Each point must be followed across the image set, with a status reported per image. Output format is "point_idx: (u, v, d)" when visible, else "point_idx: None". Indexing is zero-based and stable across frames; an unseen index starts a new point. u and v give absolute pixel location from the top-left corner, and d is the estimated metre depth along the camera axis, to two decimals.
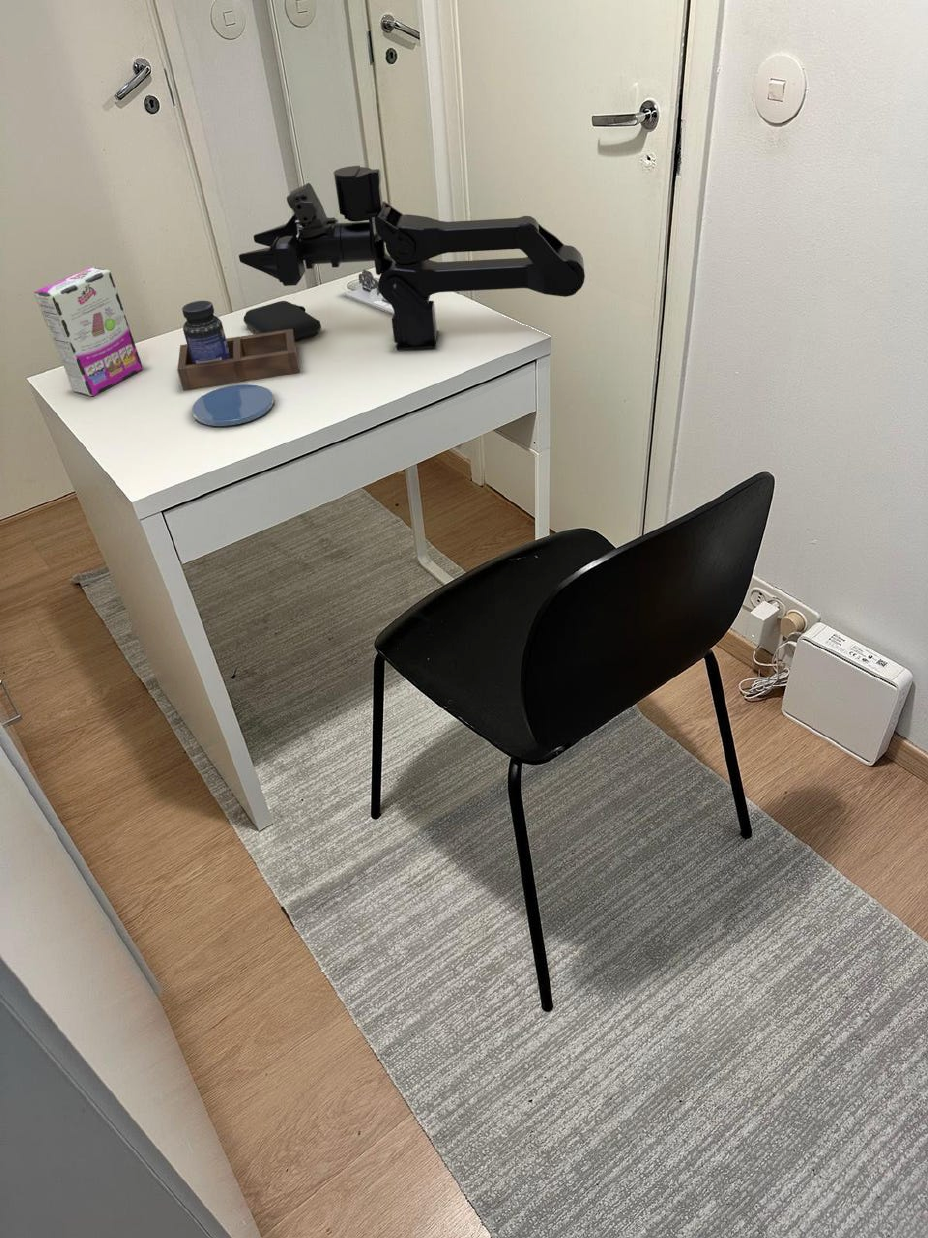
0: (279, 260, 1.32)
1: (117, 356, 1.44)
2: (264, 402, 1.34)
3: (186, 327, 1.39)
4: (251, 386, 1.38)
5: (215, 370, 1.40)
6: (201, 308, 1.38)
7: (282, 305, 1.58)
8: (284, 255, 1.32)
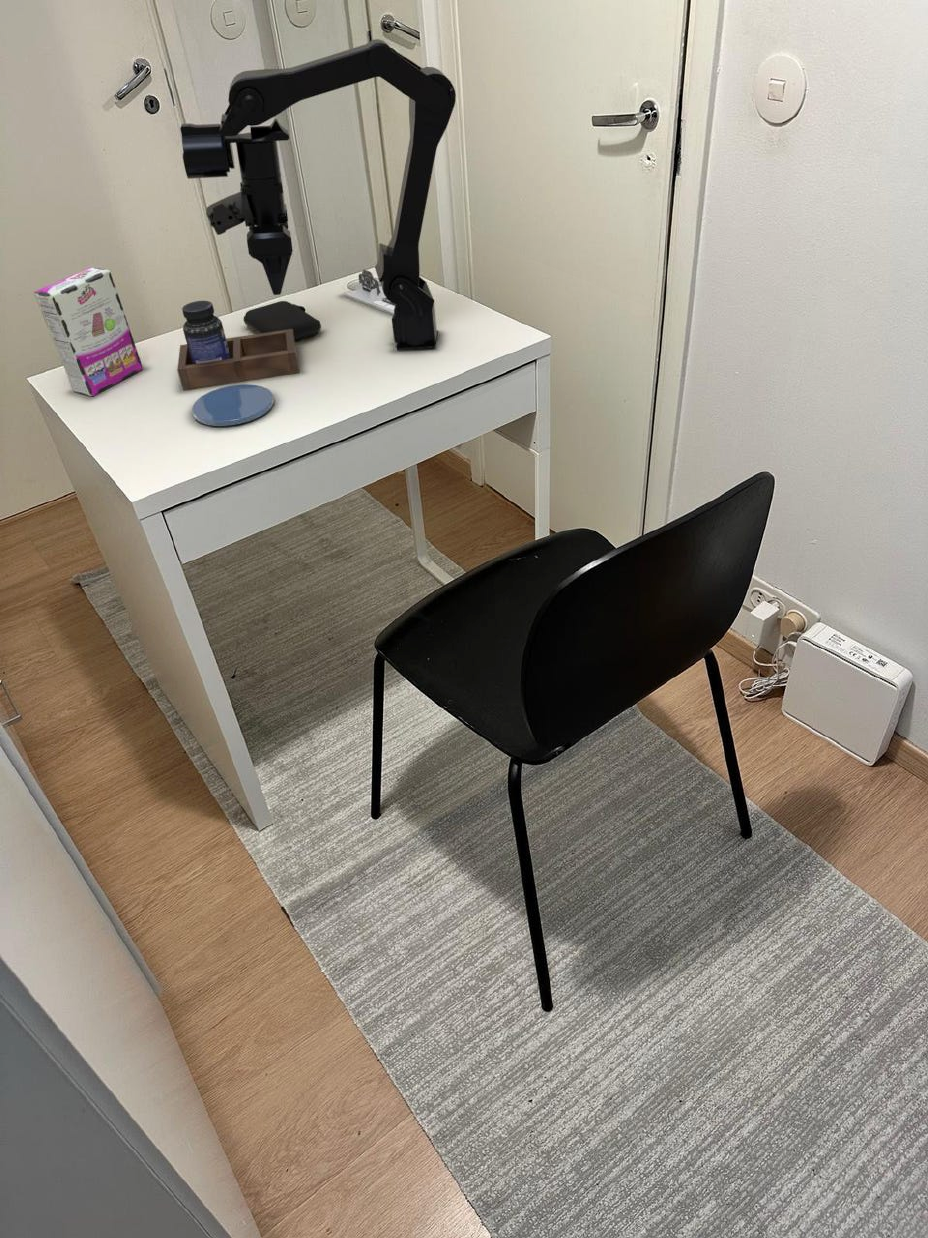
0: (264, 253, 1.27)
1: (117, 356, 1.44)
2: (264, 402, 1.34)
3: (186, 327, 1.39)
4: (251, 386, 1.38)
5: (215, 370, 1.40)
6: (201, 308, 1.38)
7: (282, 305, 1.58)
8: (258, 246, 1.26)
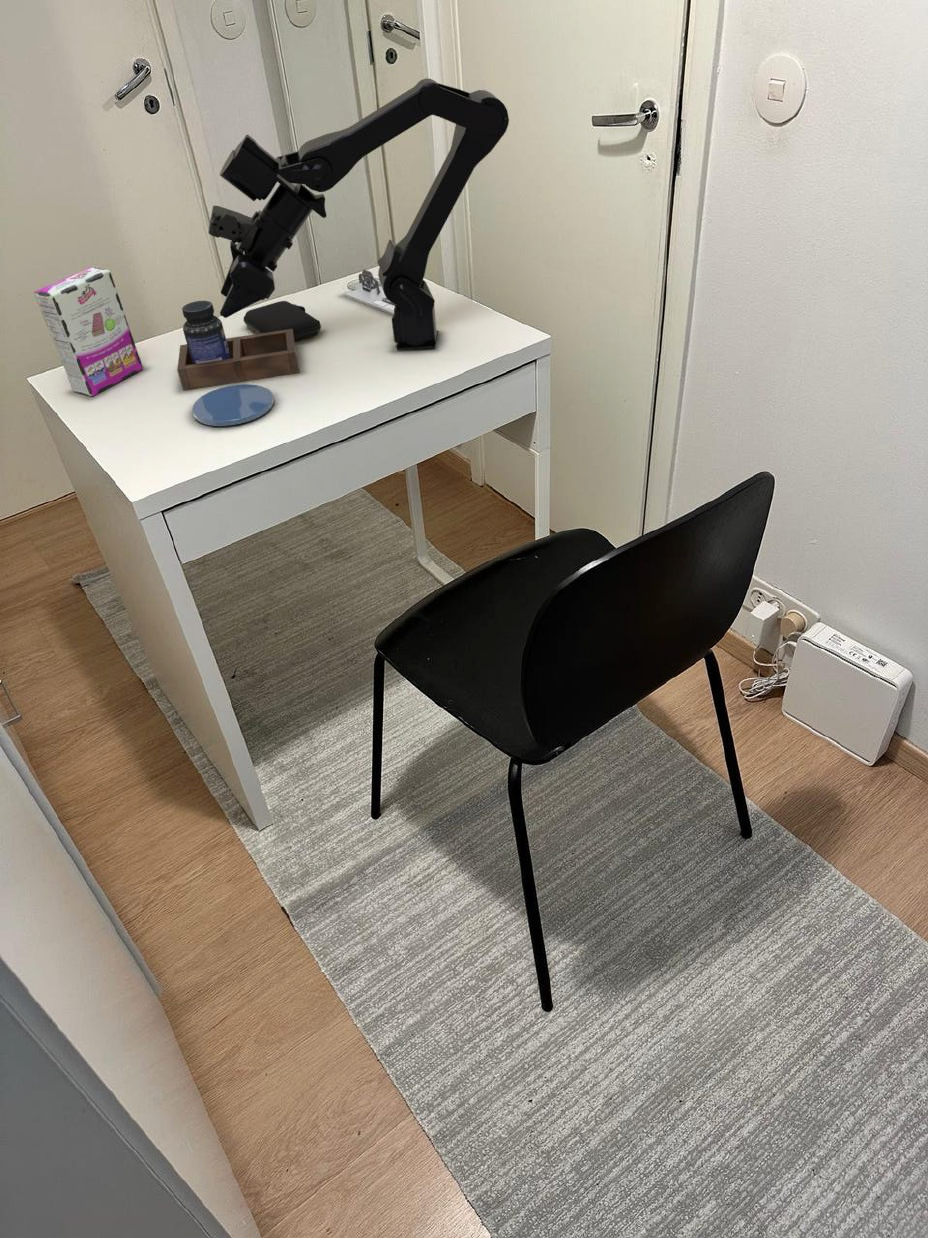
0: (245, 282, 1.29)
1: (117, 356, 1.44)
2: (264, 402, 1.34)
3: (186, 327, 1.39)
4: (251, 386, 1.38)
5: (215, 370, 1.40)
6: (201, 308, 1.38)
7: (282, 305, 1.58)
8: (244, 274, 1.28)
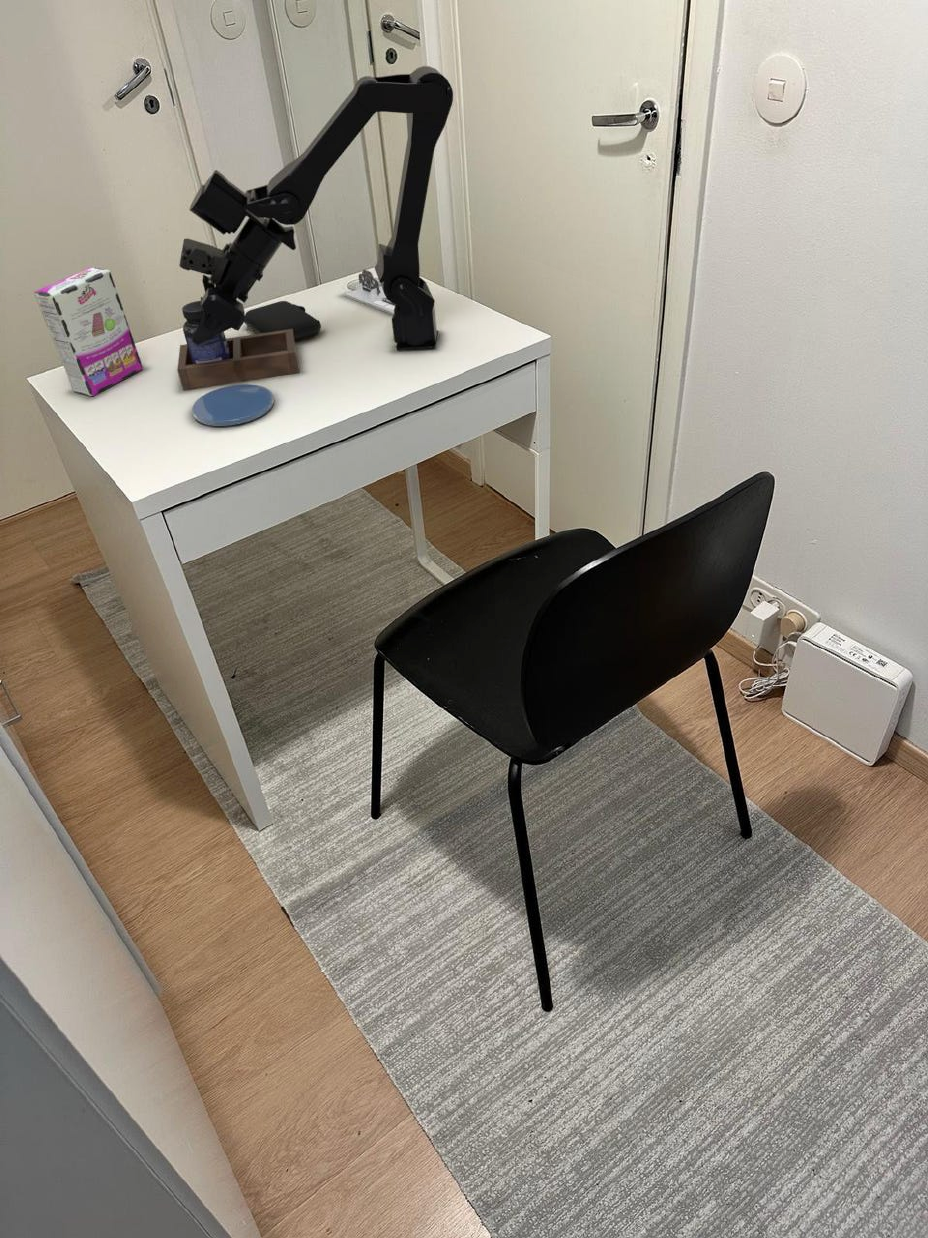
0: (215, 315, 1.31)
1: (117, 356, 1.44)
2: (264, 402, 1.34)
3: (186, 327, 1.39)
4: (251, 386, 1.38)
5: (215, 370, 1.40)
6: (201, 308, 1.38)
7: (282, 305, 1.58)
8: (214, 307, 1.30)
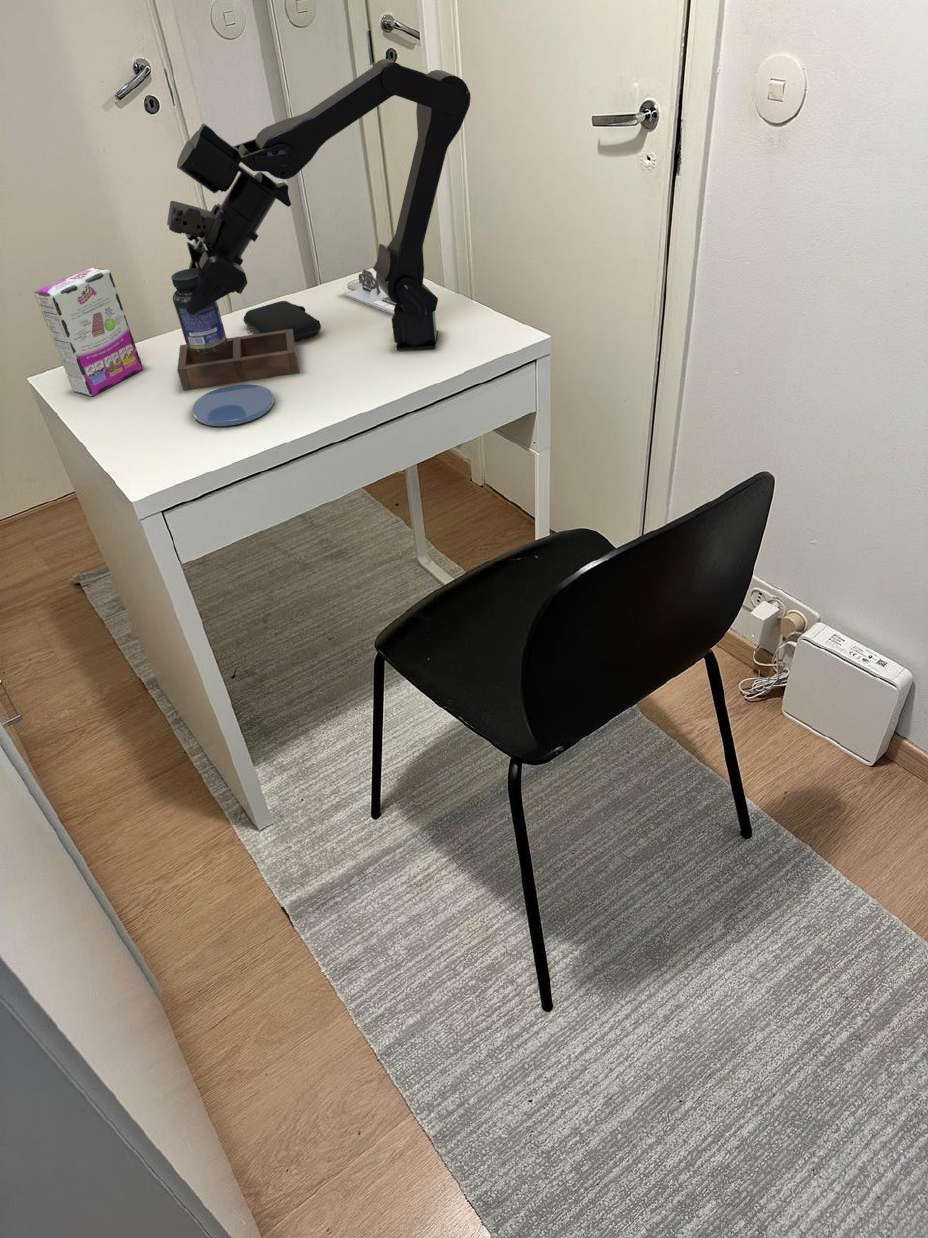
0: (217, 278, 1.23)
1: (117, 356, 1.44)
2: (264, 402, 1.34)
3: (178, 297, 1.30)
4: (251, 386, 1.38)
5: (215, 370, 1.40)
6: (193, 275, 1.29)
7: (282, 305, 1.58)
8: (216, 269, 1.22)
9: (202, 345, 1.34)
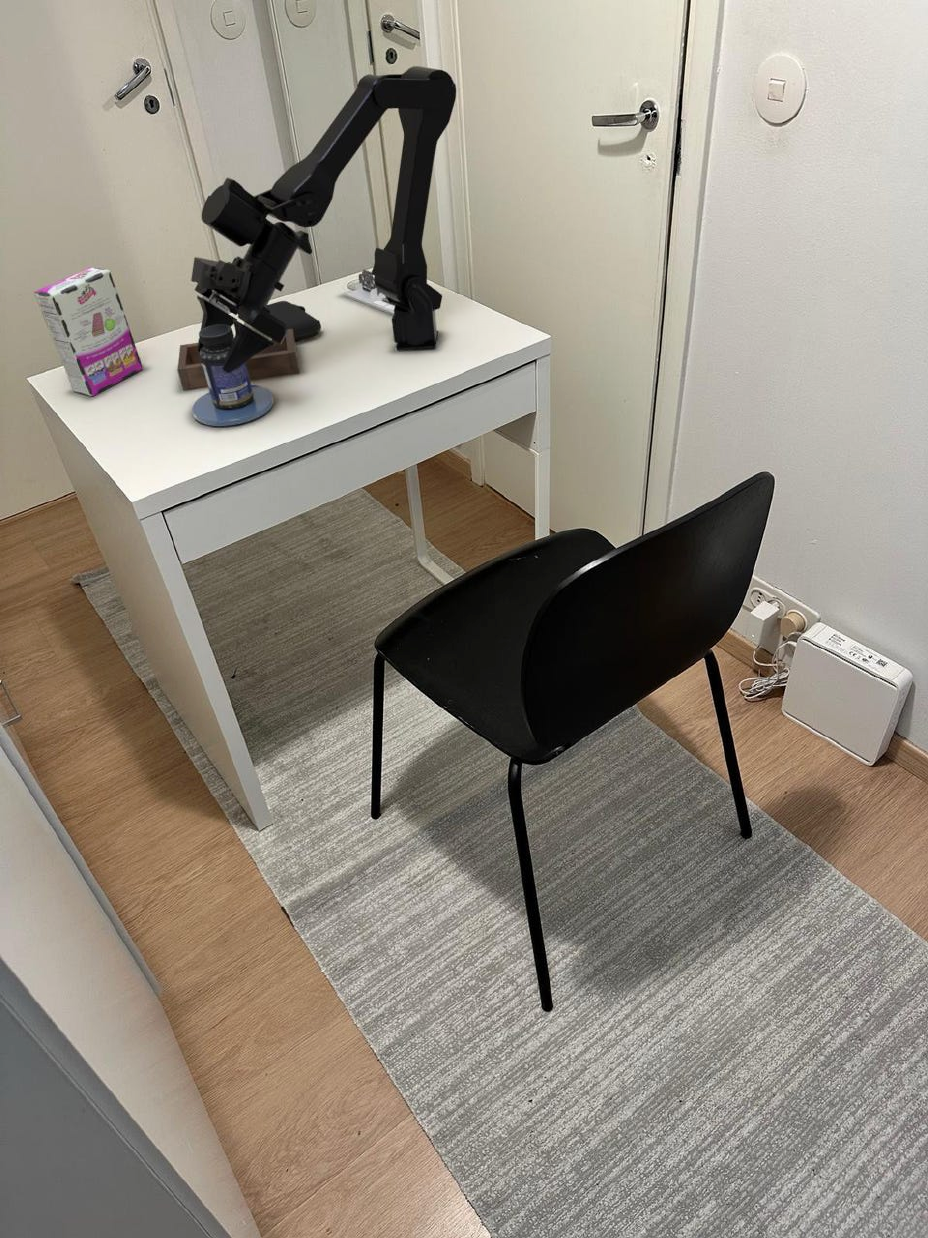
0: (261, 330, 1.22)
1: (117, 356, 1.44)
2: (264, 402, 1.34)
3: (209, 355, 1.27)
4: (251, 386, 1.38)
5: None
6: (223, 331, 1.27)
7: (282, 305, 1.58)
8: (260, 322, 1.21)
9: (234, 400, 1.31)
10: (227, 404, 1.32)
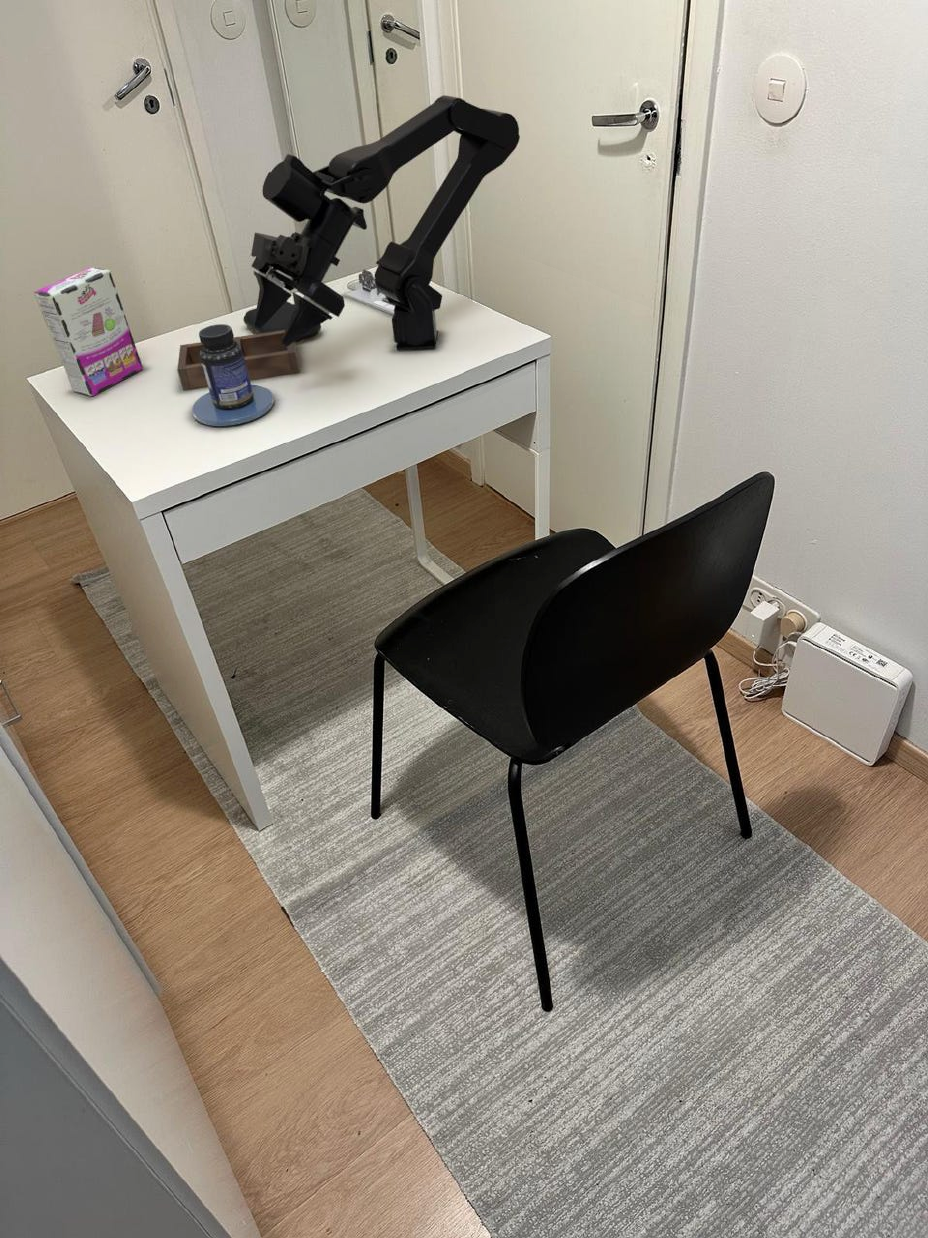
0: (320, 303, 1.25)
1: (117, 356, 1.44)
2: (264, 402, 1.34)
3: (209, 355, 1.27)
4: (251, 386, 1.38)
5: None
6: (223, 331, 1.27)
7: (282, 305, 1.58)
8: (320, 295, 1.24)
9: (234, 400, 1.31)
10: (227, 404, 1.32)
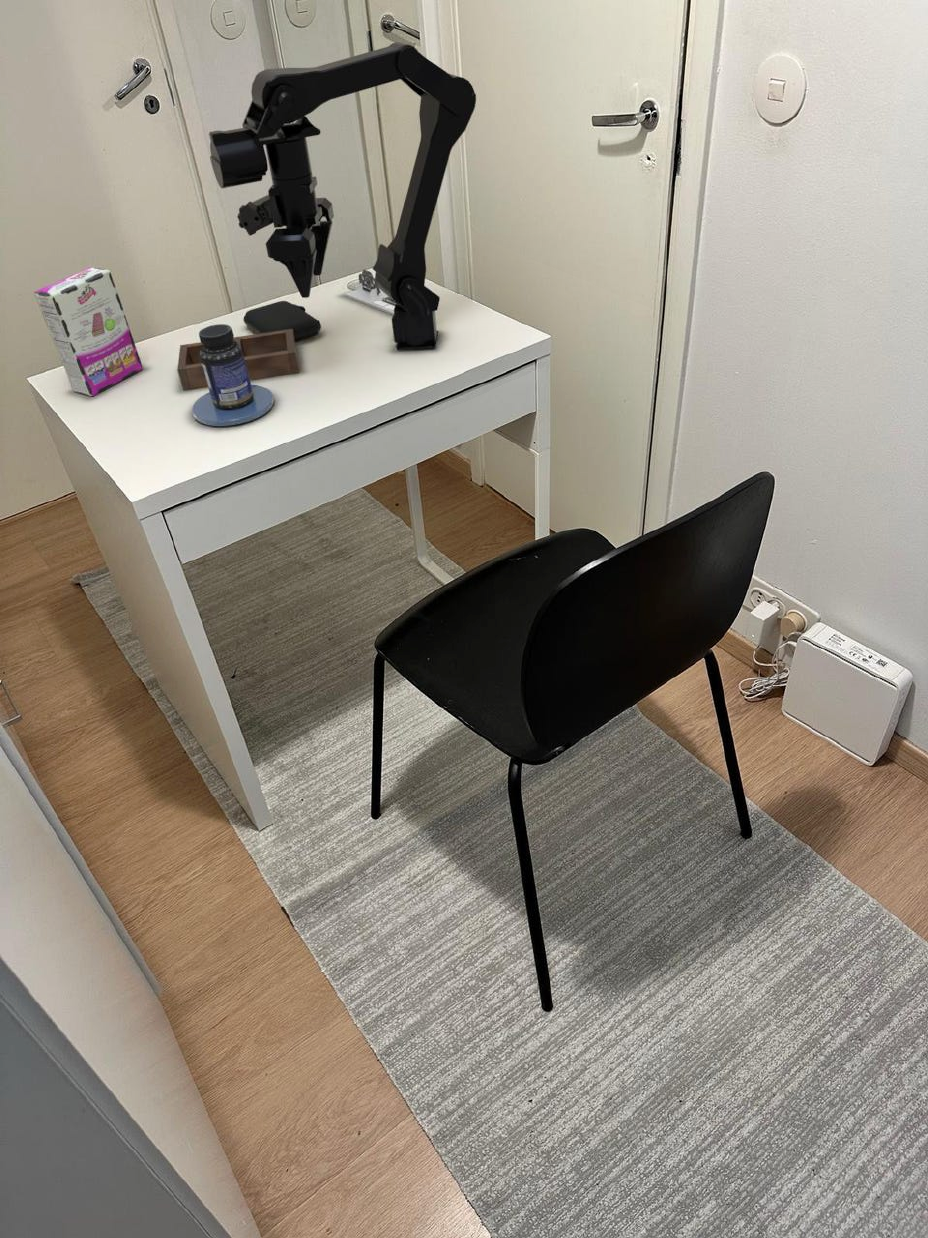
0: (282, 256, 1.24)
1: (117, 356, 1.44)
2: (264, 402, 1.34)
3: (209, 355, 1.27)
4: (251, 386, 1.38)
5: None
6: (223, 331, 1.27)
7: (282, 305, 1.58)
8: (276, 249, 1.24)
9: (234, 400, 1.31)
10: (227, 404, 1.32)
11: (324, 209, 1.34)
